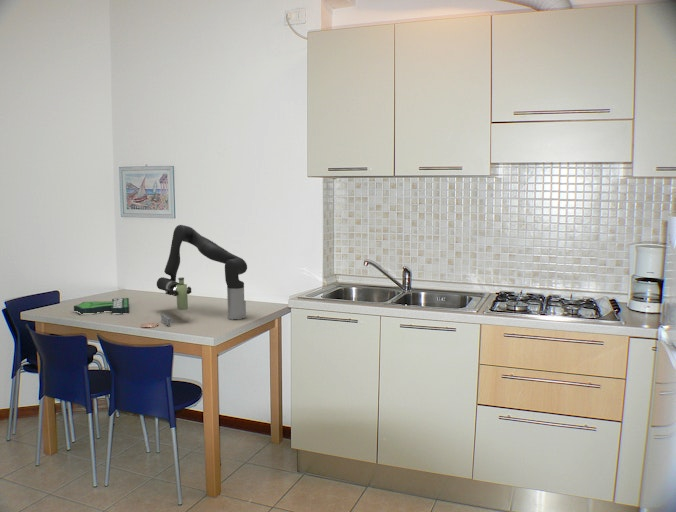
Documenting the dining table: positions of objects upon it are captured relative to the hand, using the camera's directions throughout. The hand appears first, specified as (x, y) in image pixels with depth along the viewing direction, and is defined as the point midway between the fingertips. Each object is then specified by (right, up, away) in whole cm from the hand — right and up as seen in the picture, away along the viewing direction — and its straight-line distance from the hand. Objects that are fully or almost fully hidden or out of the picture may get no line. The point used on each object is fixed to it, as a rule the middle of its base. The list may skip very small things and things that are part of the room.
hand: (183, 292), depth 301 cm
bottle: (-1, -9, +3) cm, 9 cm away
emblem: (-57, -13, +32) cm, 67 cm away
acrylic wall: (-9, -16, 0) cm, 19 cm away
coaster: (-16, -17, -5) cm, 24 cm away
